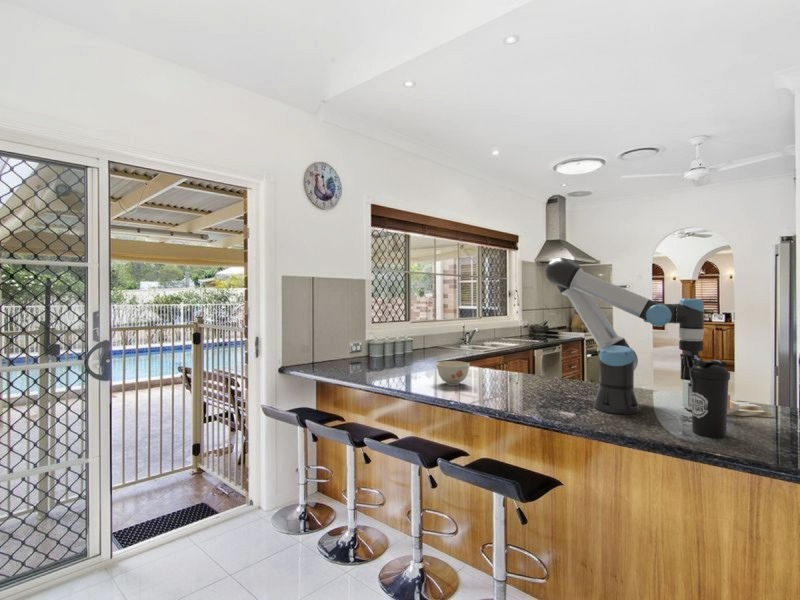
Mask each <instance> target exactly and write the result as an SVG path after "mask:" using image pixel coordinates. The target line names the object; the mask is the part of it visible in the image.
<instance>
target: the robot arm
mask: <svg viewBox="0 0 800 600" xmlns="http://www.w3.org/2000/svg"><path fill="white" fill-rule="evenodd" d="M544 273H545V277H546V279H547V280H548V282H549V283H550V284H552V285H555V286H556V287H557V289H558V291H559V293H560V294H561V295H562V296H566V297H567V298H568V300H569V301H570V303H571V304H572V306H573V308H574V309H575V311H576V312H577V314H578V316H579V318H580V319H581V321H582V322H583V324H584V325H585V328H586V329H587V330H588V333H590V335H591V337H592V339H593V340H594V342H595V344H596V345H597V348H596V352H597V354H598V359H599V370H598V371H599V374H598V375H599V377H598V378H599V382H598V383H599V385H598V390H597V393H596V396H595V398H594V403H593V405H594V408H595V409H596V410H599V411H601V412H606V413H611V414H615V415H616V414H617V415H634V414H637V413H639V412H640V407H639V406H640V405H639V401H638V399H637V396H636V393H635V390H634V387H635V386H634V383H635V382H634V381H635V379H634V374H635V370H636V368H637V367H638V363H639V361H638V360H639V359H638V355H637V353H636V352H635V350H634V349H633V348H631V347H630V345H629V344H628V342H627V341H626V339H625V338H624V336H619V335H618V333H617V332H616V331H615V329H614V327H613V326H612V324H611V323H610V322H609V321H610V320H608V318H607V316H606V315H605V314H604V312H603V310H602V309H601V307H600V306H599V304H598V302H597V301H596V300H598V301H602V302H603V303H605V304H607V305H609V306H610V305H611V306H613V307H615V308H617V309H619V310H622V311H624V312H626V313H628V314H631V315H633V316H636V317H637V318H640V319H642V320H643V322H644V323H650V324H651V325H653V326H656V327H661V326H666V325H668V324H679V326H678V338H679V341H678V343H679V344H678V347H679V348H678V349H679V350H681V351H683V353H680V380H682V382H683V380H690V383H691V376H690V369H691V368H692V367H693V366H694V365H696V364H697V362H694V360H702V361H704V360H703V359H702V358H700V356H699V352H703V351H704V341H703V339H704V334H705V331H704V323H705V322H704V321H705V320H704V319H705V305H704V301H703V299H701V298H681V299H679V303H659V302H657V301H655V300H652V299H650V298H648V297H645V296H642V295H640V294H637V293H635V292H633V291H630V290H628V289H626V288H623V287H621V286H618V285H616V284H614V283H611V282H609V281H606V280H604V279H602V278H600V277H597V276H594V275H592V274H590V273H588V272H585V271H584V269H583V268H582V267H581V266H580V264H579V263H578V262H577V261H575V260H573V259H570V258H565V257H557V258H553V259H551V260H550V261H549V262H548V263H547V265H546V268H545V271H544ZM689 403H690V404H692V389H691V384H689Z"/></svg>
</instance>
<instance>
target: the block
mask: <svg viewBox="0 0 800 600" xmlns="http://www.w3.org/2000/svg"><path fill="white" fill-rule="evenodd" d="M730 400H731V395H730V394H729V393H728V404H727V409H730Z"/></svg>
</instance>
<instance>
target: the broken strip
mask: <svg viewBox="0 0 800 600" xmlns="http://www.w3.org/2000/svg"><path fill="white" fill-rule="evenodd" d="M735 403H738V404H739V405H742V406H758V405H757V404H756V403H753V404H749V403H752V402H735Z"/></svg>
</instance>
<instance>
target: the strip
mask: <svg viewBox="0 0 800 600" xmlns="http://www.w3.org/2000/svg"><path fill="white" fill-rule="evenodd" d="M689 384H691V383H690V380H683V381H682V402H681V406H682V407H684V408H685V409H687V410H689V411H692V404H690V403H689ZM727 410H739V404H738V403H735V402H733V401H731V399H730V409H727Z"/></svg>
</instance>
